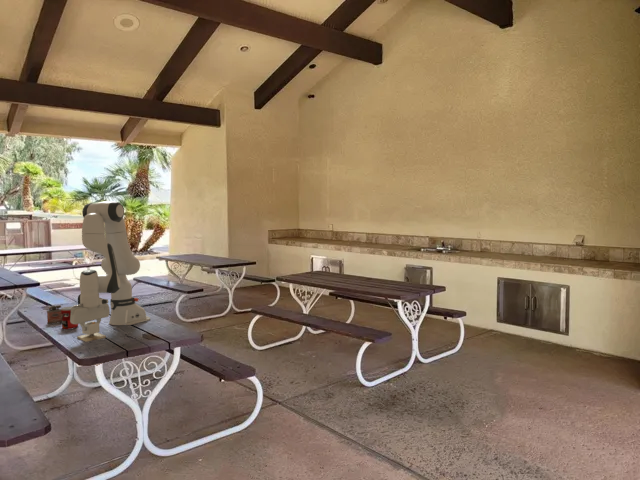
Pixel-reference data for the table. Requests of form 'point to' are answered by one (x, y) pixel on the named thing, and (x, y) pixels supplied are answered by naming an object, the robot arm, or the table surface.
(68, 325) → the canned food
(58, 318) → the ornate red tin
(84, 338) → the shaft block
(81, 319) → the robot arm
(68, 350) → the table surface
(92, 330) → the beige hollow cube
